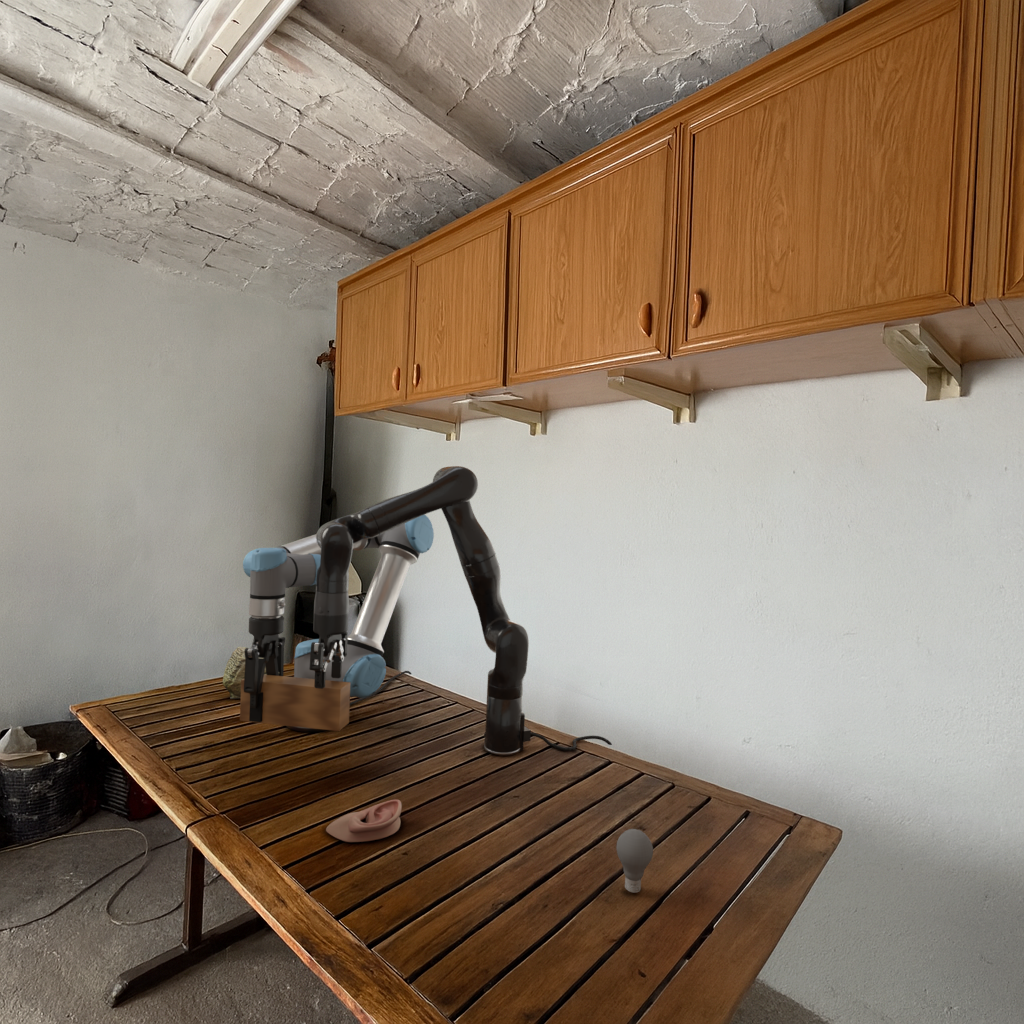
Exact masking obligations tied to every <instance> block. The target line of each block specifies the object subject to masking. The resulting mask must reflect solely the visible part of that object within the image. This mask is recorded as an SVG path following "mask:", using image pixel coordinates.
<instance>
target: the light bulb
mask: <svg viewBox="0 0 1024 1024" xmlns="http://www.w3.org/2000/svg"><path fill="white" fill-rule="evenodd" d="M615 849H616V854H617V857H618V859H619V861H620V863H621V865H622V867H623V873H624V874H623V875H624V876H625V878H624V888H625V890H627V891H628V892H630V893H634V894H635V893H639V892H640V891H641V889H642V887H641V886H642V879H643V877H644V875H645V871H646V868H647V867H648V866H649V864H650V863H651V861H652V859H653V855H654V847H653V843H652V841H651V838H649V836H648V835H647V834H646V833H645V832H643V831H642V830H641V829H636V828H629V829H627V830H625V831H623V832H622V833H621V834H620V835H619V837H618V839H617V841H616V847H615Z"/></svg>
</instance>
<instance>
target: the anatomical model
mask: <svg viewBox="0 0 1024 1024" xmlns="http://www.w3.org/2000/svg"><path fill="white" fill-rule="evenodd" d="M402 808H403V804H402V802H401V800H399V799H391V800H387V801H383V802H380V803H377V804H374V805H372V806H370V807H367V808H365V809H362V810H360V811H353V812H350V813H347V814H344V815H342V816H340V817H338V818H337V819H335V820H333V821H332V822H330V823H329V825H327V826H326V828H325V832H326V833H327V834H329V835H330V836H332V837H333V838H335V839H338V840H340V841H342V842H345V843H360V842H361V843H363V842H371V841H375V840H381V839H384V838H387V837H389V836H392V835H394V834H395V833H397V832H398V831H399V829H400V827H401V824H402V823H401V817H400V816H401V813H402Z"/></svg>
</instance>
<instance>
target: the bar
mask: <svg viewBox="0 0 1024 1024" xmlns="http://www.w3.org/2000/svg"><path fill="white" fill-rule="evenodd" d="M314 683H315V679H308V678H297V677H294V676H286V675H285V676H284V675H283V676H275V675H264V677H263V683H262V688H261V692H263V713H262V722H255V723H256V724H257V723H258V724H268V725H277V726H286V727H287V726H295V727H305V728H314V729H324V730H325V731H334V732H335V731H336V732H340V731H341V730H342V729H343V728H345V727H346V726H347V725H348V724H349V723H350V707H351V705H350V703H351V697H350V682H341V681H330V680H325V687H324V688H323V689H319V688H315V687H314ZM249 714H250V693H246V692H244V679H242V680H241V698H240V705H239V722H249V723H254V722H253V721H249Z"/></svg>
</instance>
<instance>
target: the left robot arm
mask: <svg viewBox="0 0 1024 1024" xmlns="http://www.w3.org/2000/svg"><path fill="white" fill-rule="evenodd" d="M316 535H317V533H316V534H312V535H309V536H306V537H303V538H300V539H297V540H295V541H290V542H288V543H285V544H283V545H278V546H275V547H257V548H255V549H252V550H250V551H248V552H247V553H246V555H245V556H244V558H243V562H242V568H243V572H244V573H245V575H246V576H247V577H249V578H250V579H249V604H248V605H249V607H248V614H249V616H250V617H249V618H248V633H249V634H250V635H252V636H253V639H252V643H251V647H247V648H246V649H245V651H244V653H245V676H244V692H246V693H250V714H249V721H253V722H252V723H256V722H262V713H263V692H261V688H262V683H263V677H264V671H265V666H266V674H267V675H275V676H284V675H285V674H284V669H285V665H284V663H285V644H286V637H285V636H279V635H280V634H282V633H283V632H284V630H285V617H284V616H283V615H284V614H285V606H286V601H285V599H286V598H285V597H286V590H287V589H289V588H296V587H304V586H314V585H316V579H317V571H318V568H319V567H320V560H321V548H320V547H319V546H318V544H317V541H316ZM434 537H435V533H434V528H433V524H432V521H431V520H430V518H429V517H428V515H427V514H425V515H422V516H420V517H418V518H415V519H413V520H411V521H409V522H407V523H405V524H402V525H400V526H398V527H396V528H394V529H392V530H389V531H387V532H385V533H383V534H381V535H378V536H376V537H373V538H370V539H363V540H360V541H358V542H356V543H353V551H362V550H365V549H378V550H379V553H380V554H381V555H380V559H379V561H378V564H377V567H376V569H375V571H374V574H373V577H372V579H371V581H370V584H369V586H368V589H367V592H366V595H365V597H364V599H363V602H362V605H361V607H360V610H359V613H358V615H357V618H356V620H355V623H354V625H353V628H352V631H351V633H350V634H349V635H348V638H347V656H346V657H344V660H343V661H342V675H341V677H340V678H332V677H331V670H332V662H333V660H332V659H331V662H329V663H328V665H327V668H326V680H330V681H341V682H350V698H357V699H355V700H353V701H350V706H353V705H354V704H356V703H359V702H361V701H364V700H367V699H369V698H371V697H373V696H375V695H377V694H379V693H380V692H381V691H382V690H384V689H385V688H386V687H387V686H388V685H389V684H390V683H391V682H392V681H393V680H395V679H396V678H398V677H400V676H402V675H405V674H408V675H412V672H411V671H409V670H404V671H401V672H400V673H401V674H400V673H397V674H395V675H394V676H392V677H390V678H389V680H387V681H386V682H385V683H384V684H383V682H384V680H385V678H386V675H387V667H386V666H387V663H386V660H385V659H384V657H383V656H384V654H385V650H384V648H383V646H382V643H383V640H384V638H385V634H386V632H387V629H388V626H389V623H390V621H391V619H392V616H393V612H394V611H395V608H396V604H397V602H398V600H399V597H400V594H401V591H402V589H403V585H404V583H405V580H406V578H407V575H408V572H409V569H410V566H411V565H414V564H416V563H417V562H418V561H419V557H420V554H424V553H427V552H428V551H430V549H431V548H432V547H433V543H434ZM318 641H319V638H313V639H308V640H304V641H302V642H299V643H298V644H297V645H296V646H295V652H294V653H295V654H294V657H293V659H294V660H293V662H294V663H293V665H294V667H293V677H297V678H308V679H315V671H313V670H310V669H309V668H310V653H311V644H312V642H317V643H318ZM260 658H263V659H260ZM315 661H316V660H314V664H315ZM323 663H324V662H323ZM382 684H383V685H382ZM286 728H287V729H289V730H291V731H294V732H295V731H296V732H301V733H316V732H325V731H326V730H324V729H314V728H305V727H295V726H286Z"/></svg>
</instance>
